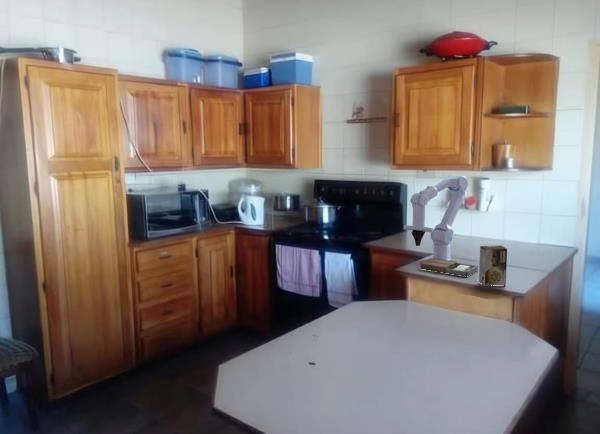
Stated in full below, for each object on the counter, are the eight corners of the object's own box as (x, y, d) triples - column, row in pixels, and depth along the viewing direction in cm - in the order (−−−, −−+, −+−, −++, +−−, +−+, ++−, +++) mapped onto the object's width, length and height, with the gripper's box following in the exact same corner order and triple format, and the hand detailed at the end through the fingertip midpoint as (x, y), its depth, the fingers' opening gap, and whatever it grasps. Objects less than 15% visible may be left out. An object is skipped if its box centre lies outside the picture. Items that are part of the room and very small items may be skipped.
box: (457, 267, 227) (457, 262, 227) (477, 271, 221) (478, 265, 221) (445, 274, 216) (445, 268, 216) (466, 277, 210) (467, 272, 210)
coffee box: (499, 282, 203) (501, 245, 201) (506, 286, 197) (508, 248, 194) (477, 282, 203) (479, 245, 200) (484, 287, 196) (486, 248, 194)
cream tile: (470, 266, 220) (470, 270, 220) (460, 264, 223) (460, 268, 223) (466, 268, 217) (466, 272, 217) (456, 266, 219) (456, 270, 220)
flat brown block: (433, 264, 235) (433, 258, 234) (456, 267, 227) (457, 261, 227) (420, 269, 224) (420, 263, 224) (445, 274, 217) (445, 267, 216)
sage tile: (466, 268, 216) (466, 273, 216) (457, 267, 218) (456, 271, 219) (463, 270, 212) (462, 275, 213) (453, 269, 215) (453, 273, 215)
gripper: (401, 217, 233) (400, 245, 235) (429, 220, 224) (428, 248, 226) (407, 216, 238) (407, 242, 240) (435, 218, 229) (434, 246, 231)
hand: (417, 245), depth 233 cm, fingers closed
